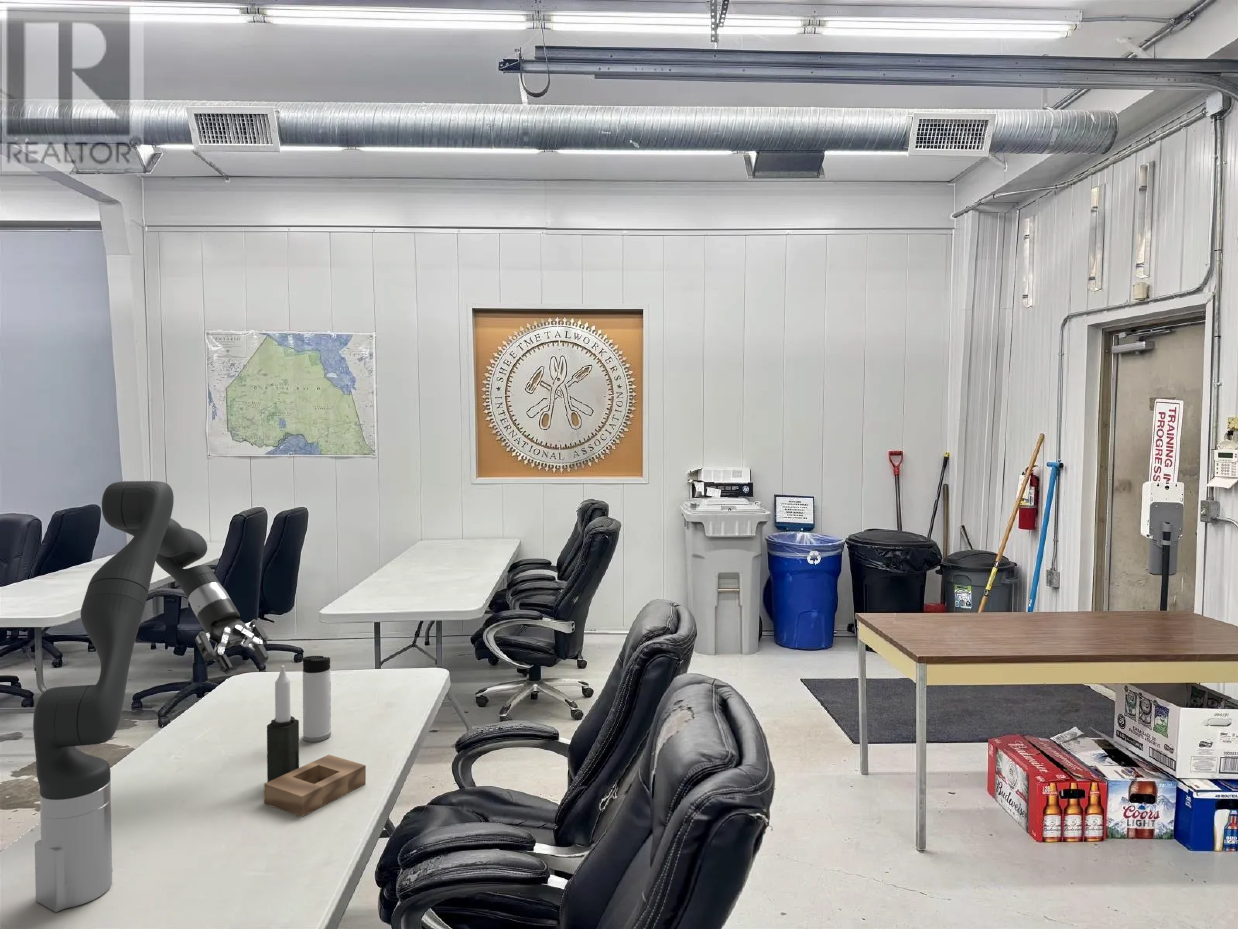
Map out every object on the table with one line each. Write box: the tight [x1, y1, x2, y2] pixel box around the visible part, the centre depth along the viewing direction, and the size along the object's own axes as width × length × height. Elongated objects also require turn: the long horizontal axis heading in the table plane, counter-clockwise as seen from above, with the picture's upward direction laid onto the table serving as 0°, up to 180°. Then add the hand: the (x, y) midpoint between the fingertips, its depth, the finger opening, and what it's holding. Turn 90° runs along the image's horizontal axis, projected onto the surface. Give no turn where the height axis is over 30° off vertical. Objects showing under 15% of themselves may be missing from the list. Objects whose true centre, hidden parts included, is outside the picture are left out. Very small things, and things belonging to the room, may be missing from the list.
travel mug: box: [302, 655, 332, 743], centre depth 186 cm, size 6×7×20 cm
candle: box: [266, 664, 300, 783], centre depth 162 cm, size 5×5×25 cm
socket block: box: [263, 754, 367, 818], centre depth 158 cm, size 16×11×4 cm
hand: (247, 666), depth 167 cm, fingers open, 8 cm apart
